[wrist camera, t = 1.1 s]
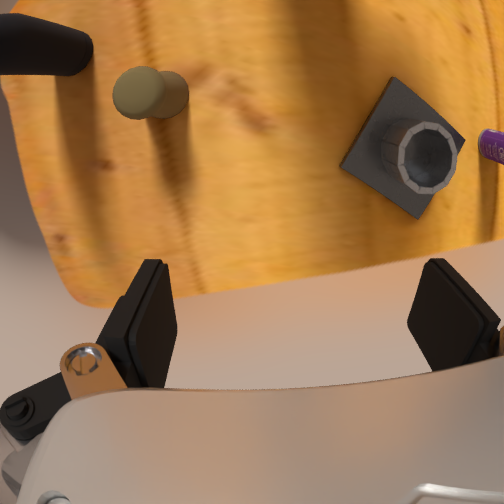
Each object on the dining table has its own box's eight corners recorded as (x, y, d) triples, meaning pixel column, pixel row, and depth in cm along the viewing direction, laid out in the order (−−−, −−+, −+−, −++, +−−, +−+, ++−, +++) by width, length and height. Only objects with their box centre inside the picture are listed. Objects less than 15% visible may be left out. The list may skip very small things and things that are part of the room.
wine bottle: (62, 85, 31) (-136, 116, 4) (48, 50, 29) (-138, 53, 2) (100, 57, 30) (-105, 41, 3) (84, 22, 28) (-102, -19, 1)
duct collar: (391, 77, 32) (413, 74, 27) (461, 138, 35) (487, 146, 30) (338, 165, 38) (353, 176, 32) (414, 217, 41) (435, 234, 35)
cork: (198, 98, 34) (180, 95, 24) (159, 128, 35) (127, 138, 25) (170, 61, 31) (141, 46, 22) (131, 92, 33) (91, 91, 23)
